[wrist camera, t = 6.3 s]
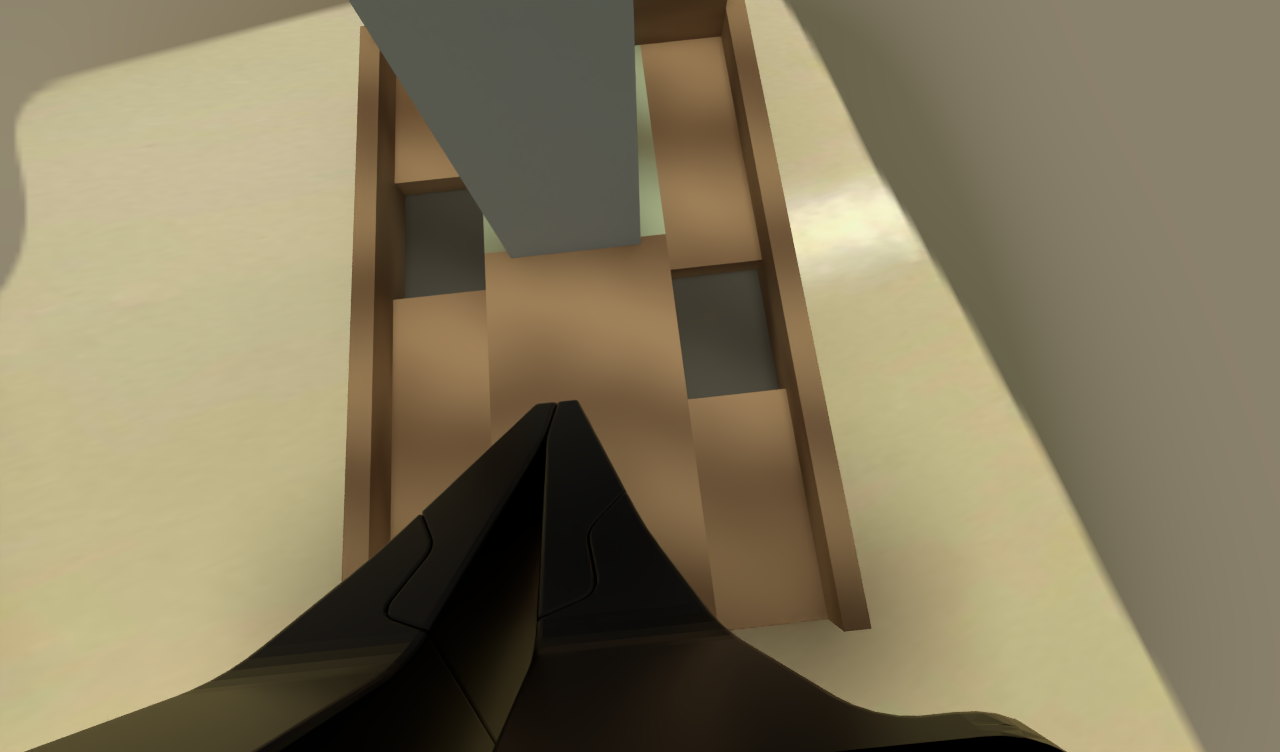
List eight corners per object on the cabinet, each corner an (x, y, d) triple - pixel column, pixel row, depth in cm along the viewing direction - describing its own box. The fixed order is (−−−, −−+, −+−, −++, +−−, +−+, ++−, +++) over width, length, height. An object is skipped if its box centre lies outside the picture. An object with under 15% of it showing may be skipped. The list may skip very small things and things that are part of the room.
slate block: (641, 244, 17) (631, -59, 7) (511, 258, 17) (331, -27, 7) (620, 72, 19) (590, -355, 9) (502, 85, 19) (347, -331, 9)
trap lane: (840, 606, 15) (905, 651, 11) (382, 659, 15) (289, 722, 11) (732, 37, 20) (751, -66, 17) (390, 73, 20) (329, -22, 16)
